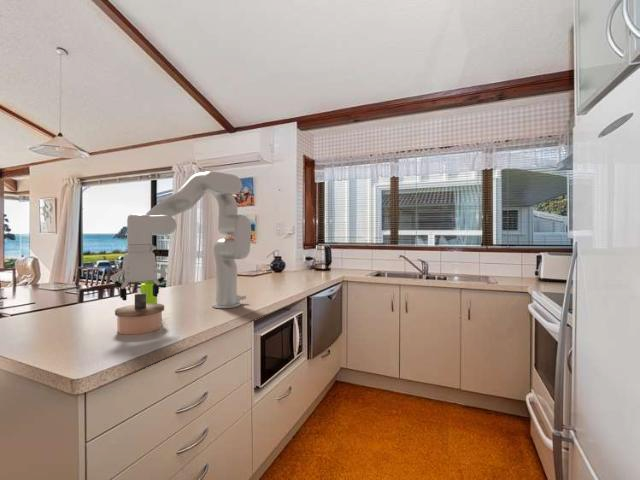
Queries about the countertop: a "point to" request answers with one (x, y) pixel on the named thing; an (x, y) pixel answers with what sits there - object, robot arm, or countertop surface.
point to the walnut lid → (139, 308)
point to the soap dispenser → (148, 292)
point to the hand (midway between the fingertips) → (140, 297)
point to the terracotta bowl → (139, 324)
